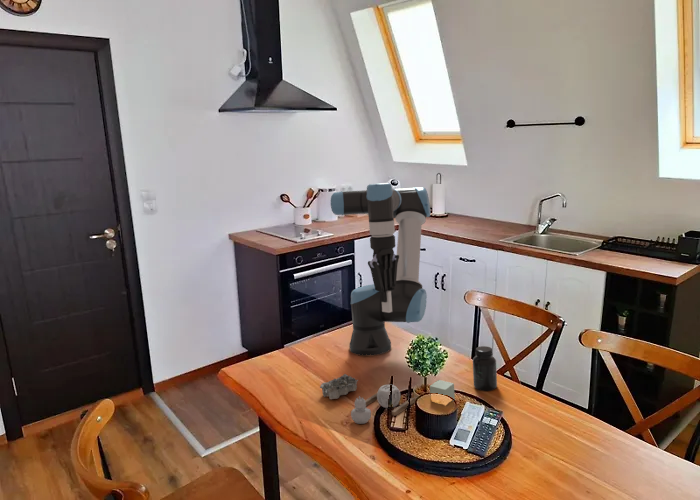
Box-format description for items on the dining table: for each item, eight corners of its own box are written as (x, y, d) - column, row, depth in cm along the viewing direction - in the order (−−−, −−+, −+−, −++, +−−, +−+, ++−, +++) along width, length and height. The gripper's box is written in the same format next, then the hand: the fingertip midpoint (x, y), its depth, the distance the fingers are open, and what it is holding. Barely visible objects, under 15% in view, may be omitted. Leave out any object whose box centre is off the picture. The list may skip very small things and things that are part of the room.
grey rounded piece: (350, 427, 133) (348, 399, 131) (352, 415, 139) (350, 388, 138) (371, 427, 132) (368, 398, 131) (372, 415, 138) (370, 388, 137)
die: (387, 398, 148) (386, 383, 147) (401, 403, 145) (400, 386, 144) (377, 405, 144) (376, 389, 143) (391, 409, 141) (390, 393, 140)
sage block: (439, 395, 147) (438, 379, 147) (454, 399, 144) (453, 383, 143) (430, 402, 144) (429, 385, 143) (445, 406, 140) (444, 389, 140)
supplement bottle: (488, 380, 155) (487, 343, 153) (501, 388, 149) (500, 350, 147) (469, 384, 153) (467, 347, 152) (481, 393, 147) (480, 354, 145)
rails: (383, 393, 152) (382, 389, 152) (415, 402, 144) (414, 398, 144) (362, 405, 145) (362, 401, 144) (394, 416, 137) (394, 412, 137)
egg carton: (332, 401, 147) (330, 388, 147) (319, 395, 154) (317, 382, 153) (361, 389, 153) (359, 376, 153) (347, 383, 159) (345, 371, 159)
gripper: (385, 232, 156) (390, 305, 160) (358, 238, 146) (364, 315, 150) (405, 232, 151) (409, 307, 155) (378, 238, 142) (384, 318, 145)
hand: (387, 311), depth 152 cm, fingers closed
